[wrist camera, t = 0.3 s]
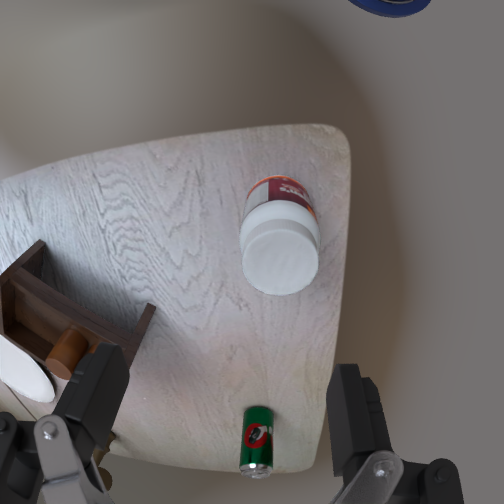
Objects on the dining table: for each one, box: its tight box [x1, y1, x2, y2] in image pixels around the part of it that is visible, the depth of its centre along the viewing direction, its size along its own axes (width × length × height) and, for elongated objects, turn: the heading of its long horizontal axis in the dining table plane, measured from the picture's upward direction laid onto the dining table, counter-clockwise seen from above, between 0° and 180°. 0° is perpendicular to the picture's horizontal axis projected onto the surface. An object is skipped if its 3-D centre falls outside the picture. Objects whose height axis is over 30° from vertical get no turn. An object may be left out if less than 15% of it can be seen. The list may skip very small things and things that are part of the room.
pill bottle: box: [239, 175, 321, 296], centre depth 25 cm, size 6×6×11 cm
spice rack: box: [0, 239, 156, 380], centre depth 33 cm, size 10×18×12 cm, turn 59°
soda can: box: [239, 407, 274, 479], centre depth 43 cm, size 5×5×12 cm
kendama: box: [93, 432, 116, 491], centre depth 50 cm, size 6×10×20 cm, turn 121°
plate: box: [0, 335, 55, 402], centre depth 48 cm, size 25×25×2 cm
